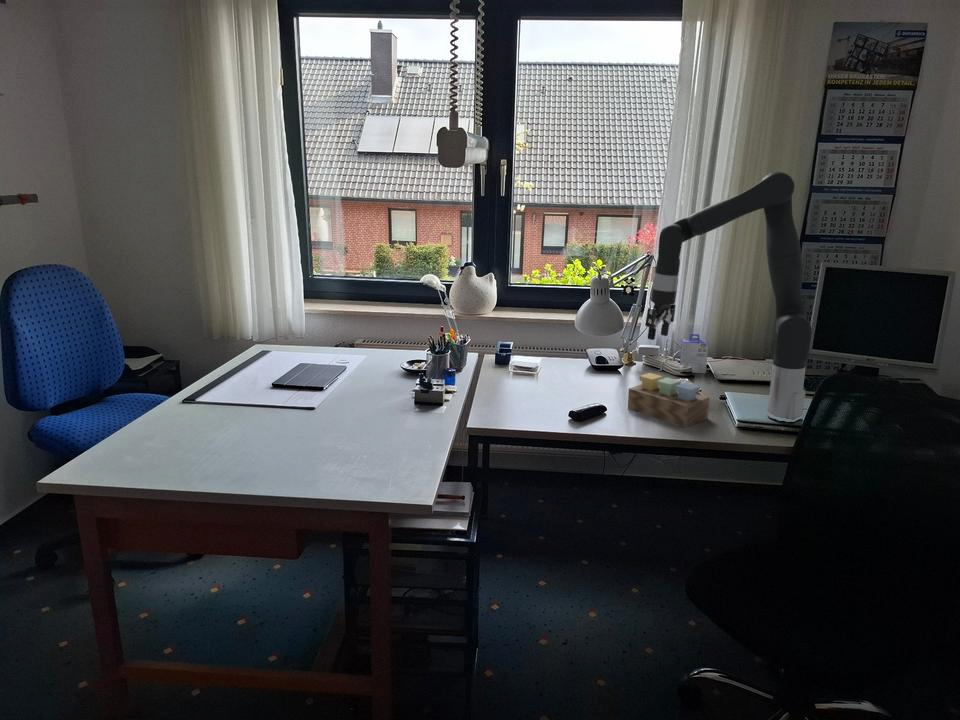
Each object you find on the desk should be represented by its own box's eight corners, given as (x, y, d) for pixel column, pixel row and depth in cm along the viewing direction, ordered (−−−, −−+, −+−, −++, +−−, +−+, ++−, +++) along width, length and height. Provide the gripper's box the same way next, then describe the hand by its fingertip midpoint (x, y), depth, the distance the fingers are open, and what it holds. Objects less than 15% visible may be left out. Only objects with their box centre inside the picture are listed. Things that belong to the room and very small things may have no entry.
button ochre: (661, 396, 217) (662, 376, 215) (651, 400, 214) (652, 379, 212) (648, 392, 221) (649, 372, 219) (638, 396, 218) (639, 375, 216)
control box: (707, 418, 208) (709, 397, 206) (684, 427, 201) (686, 405, 199) (650, 400, 225) (651, 381, 223) (627, 408, 218) (628, 388, 216)
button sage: (679, 402, 212) (680, 381, 210) (669, 405, 208) (670, 384, 207) (665, 398, 215) (667, 377, 214) (655, 401, 212) (657, 380, 210)
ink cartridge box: (704, 369, 259) (707, 333, 255) (706, 373, 253) (709, 337, 250) (678, 368, 261) (681, 333, 257) (679, 372, 255) (682, 336, 251)
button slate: (698, 407, 206) (700, 386, 204) (688, 411, 203) (690, 389, 201) (684, 403, 210) (685, 382, 208) (674, 407, 207) (675, 385, 205)
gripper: (664, 292, 202) (657, 343, 207) (686, 287, 212) (678, 336, 217) (642, 288, 207) (636, 338, 211) (664, 283, 217) (658, 331, 222)
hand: (657, 337), depth 214 cm, fingers open, 8 cm apart
